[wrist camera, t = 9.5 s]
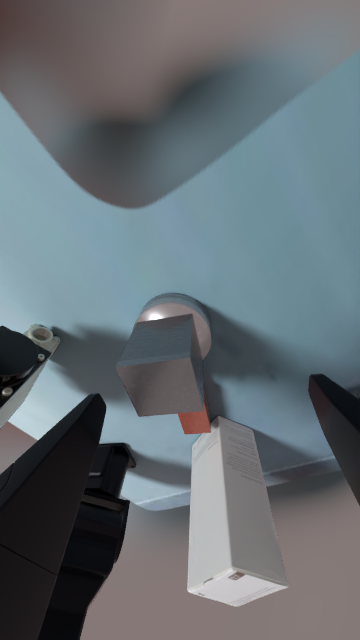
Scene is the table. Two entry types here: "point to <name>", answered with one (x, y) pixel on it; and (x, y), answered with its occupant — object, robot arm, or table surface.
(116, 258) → the table surface
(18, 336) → the pneumatic valve
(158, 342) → the brushed metal block
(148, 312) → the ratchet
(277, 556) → the skincare box
